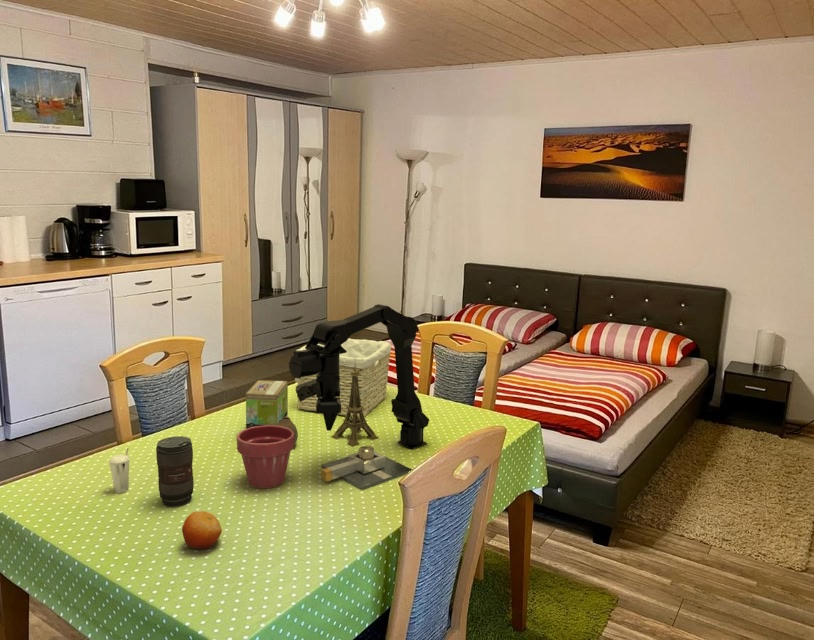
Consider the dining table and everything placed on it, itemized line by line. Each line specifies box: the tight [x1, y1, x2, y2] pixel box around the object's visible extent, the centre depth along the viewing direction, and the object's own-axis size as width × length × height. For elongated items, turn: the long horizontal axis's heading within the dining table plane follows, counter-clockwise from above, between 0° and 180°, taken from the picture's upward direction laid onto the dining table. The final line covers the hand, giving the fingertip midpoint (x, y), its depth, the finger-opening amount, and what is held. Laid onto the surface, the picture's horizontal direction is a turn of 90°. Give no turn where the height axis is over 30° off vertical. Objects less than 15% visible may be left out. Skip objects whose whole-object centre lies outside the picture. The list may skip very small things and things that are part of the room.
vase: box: [277, 416, 299, 446], centre depth 190 cm, size 7×7×9 cm
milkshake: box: [108, 447, 130, 494], centre depth 160 cm, size 4×5×10 cm
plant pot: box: [236, 425, 295, 489], centre depth 167 cm, size 14×14×13 cm
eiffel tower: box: [330, 366, 380, 448], centre depth 196 cm, size 11×11×25 cm
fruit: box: [181, 510, 223, 551], centre depth 136 cm, size 8×8×8 cm
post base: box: [320, 445, 413, 491], centre depth 175 cm, size 17×18×6 cm
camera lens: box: [155, 435, 195, 508], centre depth 155 cm, size 8×8×15 cm
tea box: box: [245, 380, 289, 429], centre depth 201 cm, size 15×10×15 cm
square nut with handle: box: [320, 451, 386, 482], centre depth 172 cm, size 17×7×3 cm, turn 132°
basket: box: [295, 337, 392, 418], centre depth 228 cm, size 27×27×22 cm
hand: (328, 428), depth 172 cm, fingers open, 3 cm apart
